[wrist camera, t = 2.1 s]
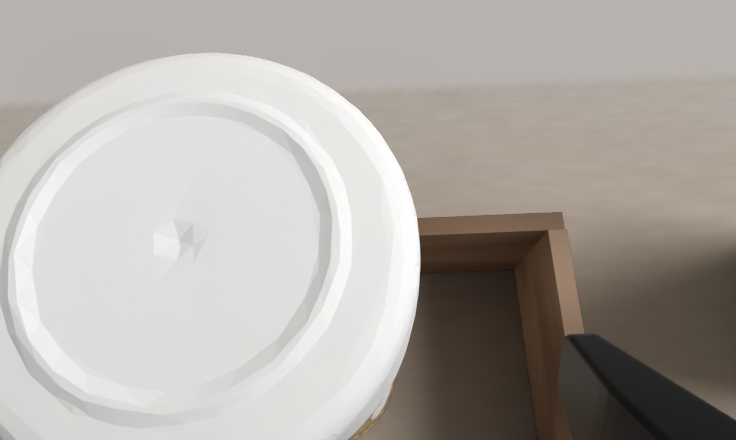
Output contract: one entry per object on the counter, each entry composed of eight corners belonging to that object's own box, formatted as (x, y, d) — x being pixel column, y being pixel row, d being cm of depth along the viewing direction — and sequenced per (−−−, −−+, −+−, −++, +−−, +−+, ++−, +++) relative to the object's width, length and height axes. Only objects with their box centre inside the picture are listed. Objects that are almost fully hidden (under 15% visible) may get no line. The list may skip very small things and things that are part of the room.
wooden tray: (571, 563, 16) (631, 607, 12) (77, 582, 16) (-17, 631, 12) (527, 254, 19) (563, 211, 15) (116, 271, 19) (51, 233, 15)
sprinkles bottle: (423, 366, 18) (529, 216, 5) (325, 484, 17) (146, 674, 4) (318, 274, 19) (191, -36, 6) (220, 378, 18) (-181, 262, 5)
